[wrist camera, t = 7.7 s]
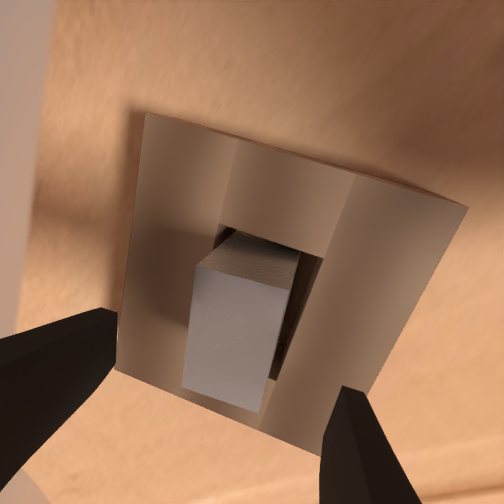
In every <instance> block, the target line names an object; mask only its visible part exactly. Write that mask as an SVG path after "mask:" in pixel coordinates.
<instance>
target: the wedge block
mask: <svg viewBox="0 0 504 504" xmlns="http://www.w3.org/2000/svg"><path fill="white" fill-rule="evenodd" d="M300 253H301V251H300V250H297V249H294V248H291V247H288V246H285V245H282V244H279V243H276V242H273V241H270V240H267V239H264V238H261V237H258V236H255V235H252V234H249V233H246V232H243V231H240V230H237V231H235V232H234V233H233V234H232V235H231V236H230V237H228V238H227V239H226V240H225V241H224V242H223V243H222V244H220V245H219V246H218V247H217V248H216V249H215V250H213V251H212V252H211V253H210V254H209V255H208V256H207V257H205V258H204V259H203V260H202V261H201V262H200V263H198V264H197V265H196V270H195V278H194V287H193V295H192V303H191V311H190V319H189V328H188V336H187V344H186V352H185V361H184V369H183V377H182V385H181V387H183V388H185V389H188V390H191V391H194V392H197V393H200V394H203V395H206V396H209V397H212V398H215V399H218V400H221V401H224V402H226V403H229V404H232V405H235V406H238V407H241V408H244V409H247V410H250V411H253V412H256V413H259V410H260V407H261V403H262V399H263V395H264V392H265V388H266V384H267V381H268V377H269V373H270V369H271V366H272V362H273V358H274V355H275V351H276V347H277V343H278V340H279V336H280V332H281V329H282V325H283V321H284V317H285V313H286V309H287V305H288V301H289V297H290V293H291V289H292V285H293V281H294V277H295V273H296V269H297V265H298V261H299V257H300Z"/></svg>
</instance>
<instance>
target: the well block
mask: <svg viewBox="0 0 504 504" xmlns="http://www.w3.org/2000/svg"><path fill="white" fill-rule="evenodd" d="M468 209H469V207H467V206H465V205H462V204H460V203H458V202H455V201H453V200H450V199H448V198H445V197H443V196H440V195H437V194H433V193H430V192H427V191H423V190H420V189H416V188H413V187H410V186H406V185H403V184H399V183H396V182H392V181H389V180H386V179H382V178H379V177H375V176H372V175H369V174H365V173H362V172H358V171H355V170H351V169H348V168H345V167H341V166H338V165H334V164H331V163H328V162H324V161H321V160H317V159H314V158H310V157H307V156H304V155H300V154H297V153H293V152H290V151H286V150H283V149H280V148H276V147H273V146H269V145H266V144H263V143H259V142H256V141H252V140H249V139H245V138H242V137H239V136H235V135H232V134H228V133H225V132H222V131H218V130H215V129H211V128H208V127H204V126H201V125H198V124H194V123H191V122H187V121H184V120H181V119H176V118H171V117H167V116H162V115H157V114H152V113H147V112H146V113H145V121H144V129H143V137H142V146H141V154H140V162H139V170H138V178H137V186H136V195H135V203H134V211H133V219H132V227H131V235H130V243H129V252H128V260H127V268H126V276H125V284H124V292H123V301H122V309H121V317H120V325H119V333H118V341H117V350H116V364H115V366H114V369H115V370H117V371H119V372H122V373H124V374H126V375H129V376H131V377H134V378H136V379H138V380H141V381H143V382H145V383H148V384H150V385H152V386H155V387H157V388H159V389H162V390H164V391H167V392H169V393H171V394H174V395H176V396H178V397H181V398H183V399H185V400H188V401H190V402H192V403H195V404H197V405H200V406H202V407H204V408H207V409H209V410H211V411H214V412H216V413H218V414H221V415H223V416H225V417H228V418H230V419H233V420H235V421H237V422H240V423H242V424H244V425H247V426H249V427H251V428H254V429H256V430H258V431H261V432H263V433H266V434H268V435H270V436H273V437H275V438H277V439H280V440H282V441H284V442H287V443H289V444H291V445H294V446H296V447H299V448H301V449H303V450H306V451H308V452H310V453H313V454H315V455H317V456H320V457H321V451H322V441H323V435H324V432H325V430H326V427H327V424H328V422H329V419H330V416H331V414H332V411H333V408H334V406H335V403H336V400H337V398H338V395H339V392H340V390H341V387H342V385H343V386H346V387H349V388H352V389H356V390H359V391H362V392H364V393H365V395H366V396H367V395H368V393H369V391H370V389H371V387H372V385H373V384H374V382H375V380H376V378H377V376H378V374H379V372H380V371H381V369H382V367H383V365H384V363H385V361H386V360H387V358H388V356H389V354H390V352H391V350H392V349H393V347H394V345H395V343H396V341H397V339H398V338H399V336H400V334H401V332H402V330H403V328H404V326H405V325H406V323H407V321H408V319H409V317H410V315H411V314H412V312H413V310H414V308H415V306H416V304H417V303H418V301H419V299H420V297H421V295H422V293H423V291H424V290H425V288H426V286H427V284H428V282H429V280H430V279H431V277H432V275H433V273H434V271H435V269H436V268H437V266H438V264H439V262H440V260H441V258H442V257H443V255H444V253H445V251H446V249H447V247H448V245H449V244H450V242H451V240H452V238H453V236H454V234H455V233H456V231H457V229H458V227H459V225H460V223H461V222H462V220H463V218H464V216H465V214H466V212H467V210H468ZM233 228H234V229H237V230H240V231H243V232H246V233H249V234H252V235H255V236H258V237H261V238H264V239H267V240H270V241H273V242H276V243H279V244H282V245H285V246H288V247H291V248H294V249H297V250H300V251H303V252H306V253H309V254H312V255H315V256H318V259H317V261H316V264H315V267H314V269H313V272H312V275H311V277H310V280H309V283H308V285H307V288H306V290H305V293H304V296H303V298H302V301H301V304H300V306H299V309H298V312H297V314H296V317H295V320H294V322H293V325H292V328H291V330H290V333H289V336H288V338H287V341H286V344H285V346H284V345H282V344H279V343H277V347H276V351H275V355H274V358H273V362H272V366H271V369H270V373H269V377H268V381H267V384H266V388H265V392H264V395H263V399H262V403H261V407H260V410H259V413H256V412H253V411H250V410H247V409H244V408H241V407H238V406H235V405H232V404H229V403H226V402H224V401H221V400H218V399H215V398H212V397H209V396H206V395H203V394H200V393H197V392H194V391H191V390H188V389H185V388H183V387H181V385H182V377H183V369H184V361H185V352H186V344H187V336H188V328H189V319H190V311H191V303H192V295H193V287H194V278H195V270H196V265H197V264H198V263H200V262H201V261H202V260H203V259H204V258H205V257H207V256H208V255H209V254H210V253H211V252H212V251H213V250H215V249H216V248H217V247H218V246H219V245H220V244H222V243H223V242H224V241H225V240H226V239H227V238H228V237H230V236H231V235H232V232H233Z"/></svg>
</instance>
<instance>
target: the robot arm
mask: <svg viewBox="0 0 504 504" xmlns="http://www.w3.org/2000/svg"><path fill="white" fill-rule="evenodd" d="M117 317H118V313H117V312H114V311H111V310H108V309H105V308H102V307H101V308H97V309H93V310H90V311H86V312H83V313H80V314H77V315H74V316H71V317H68V318H64V319H61V320H58V321H55V322H52V323H49V324H46V325H43V326H40V327H37V328H34V329H31V330H28V331H25V332H22V333H18V334H15V335H12V336H9V337H5V338H2V339H0V492H1V490H2V489H3V488H4V487H5V486H6V484H7V483H8V482H9V481H10V480H11V478H12V477H13V476H14V475H15V474H16V472H17V471H18V470H19V469H20V468H21V467H22V466H23V465H24V464H25V463H26V462H27V461H28V459H29V458H30V457H31V456H32V455H33V454H34V453H35V452H36V451H37V450H38V449H39V448H40V447H41V446H42V445H43V444H44V443H45V442H46V441H47V440H48V439H49V438H50V437H51V436H52V435H53V434H54V433H55V432H56V431H57V430H58V429H59V428H60V427H61V426H62V424H63V423H64V422H65V421H66V420H67V419H68V418H69V417H70V416H71V415H72V414H73V413H74V412H75V411H76V410H77V409H78V408H79V407H80V406H81V405H82V404H83V403H84V402H85V401H86V400H87V399H88V398H89V397H90V396H91V394H92V393H93V392H94V391H95V390H96V389H97V388H98V386H99V385H100V384H101V383H102V381H103V380H104V379H105V377H106V376H107V375H108V373H109V372H110V371H111V369H112V368H113V367H114V365H115V364H116V350H117ZM319 504H422V503H421V501H420V499H419V498H418V496H417V494H416V492H415V490H414V489H413V487H412V485H411V483H410V482H409V480H408V478H407V476H406V474H405V472H404V470H403V469H402V467H401V465H400V463H399V461H398V459H397V457H396V455H395V454H394V452H393V450H392V448H391V446H390V444H389V442H388V440H387V438H386V436H385V434H384V432H383V430H382V428H381V426H380V424H379V422H378V420H377V417H376V415H375V413H374V411H373V409H372V407H371V405H370V403H369V401H368V399H367V397H366V395H365V393H364V392H362V391H359V390H356V389H352V388H349V387H346V386H343V385H342V387H341V390H340V392H339V395H338V398H337V400H336V403H335V406H334V408H333V411H332V414H331V416H330V419H329V422H328V424H327V427H326V430H325V432H324V435H323V441H322V451H321V462H320V473H319Z"/></svg>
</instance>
